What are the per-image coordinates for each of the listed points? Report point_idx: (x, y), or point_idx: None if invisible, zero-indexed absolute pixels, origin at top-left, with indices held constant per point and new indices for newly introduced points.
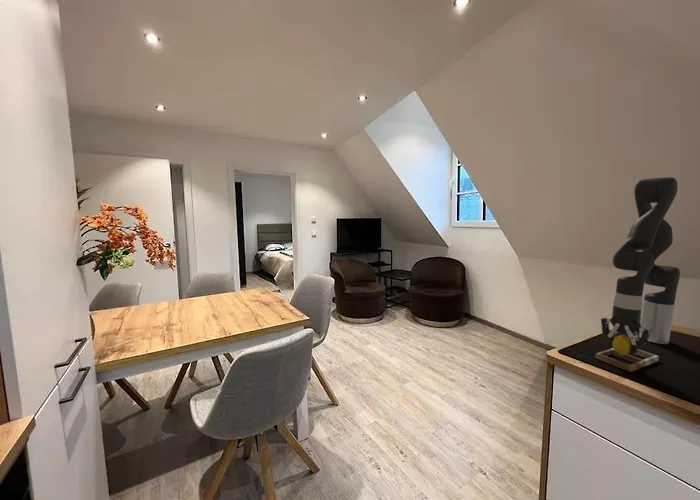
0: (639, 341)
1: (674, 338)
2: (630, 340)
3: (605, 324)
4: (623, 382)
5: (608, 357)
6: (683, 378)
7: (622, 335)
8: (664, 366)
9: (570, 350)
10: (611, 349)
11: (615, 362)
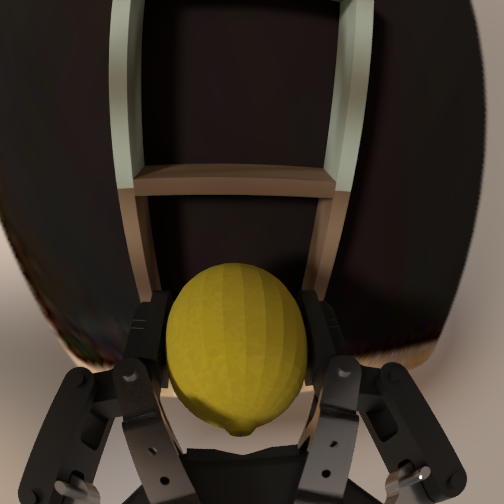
0: (365, 420)
1: None
2: (297, 394)
3: (90, 481)
4: (308, 386)
5: None
6: (461, 176)
7: (235, 432)
8: (401, 66)
9: (68, 319)
10: (127, 190)
11: None
